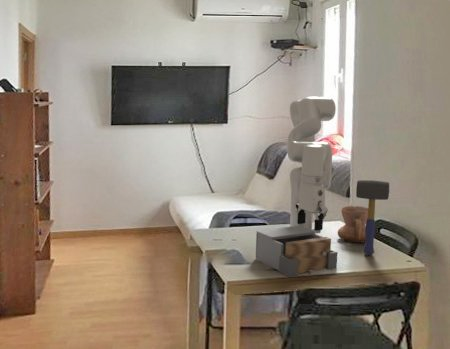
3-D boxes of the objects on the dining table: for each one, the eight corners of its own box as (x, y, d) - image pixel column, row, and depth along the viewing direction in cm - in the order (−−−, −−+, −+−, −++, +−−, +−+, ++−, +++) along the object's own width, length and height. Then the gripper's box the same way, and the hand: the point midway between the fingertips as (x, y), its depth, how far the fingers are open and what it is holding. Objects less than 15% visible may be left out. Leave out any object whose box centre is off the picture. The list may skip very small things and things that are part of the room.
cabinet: (299, 252, 225) (300, 225, 224) (336, 268, 206) (338, 238, 205) (253, 259, 215) (254, 231, 213) (288, 276, 196) (289, 246, 194)
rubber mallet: (384, 254, 226) (389, 180, 221) (384, 259, 219) (390, 183, 214) (352, 251, 229) (357, 178, 224) (352, 256, 222) (356, 180, 217)
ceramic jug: (335, 234, 255) (337, 203, 252) (368, 235, 253) (370, 204, 251) (339, 246, 237) (340, 213, 235) (374, 247, 236) (376, 214, 233)
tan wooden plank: (324, 265, 209) (325, 236, 208) (331, 268, 206) (333, 239, 204) (284, 272, 201) (285, 242, 199) (291, 276, 197) (293, 245, 195)
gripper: (336, 183, 193) (333, 231, 196) (305, 175, 208) (303, 220, 211) (319, 184, 189) (316, 234, 192) (288, 176, 204) (286, 222, 207)
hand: (309, 226), depth 202 cm, fingers open, 9 cm apart
